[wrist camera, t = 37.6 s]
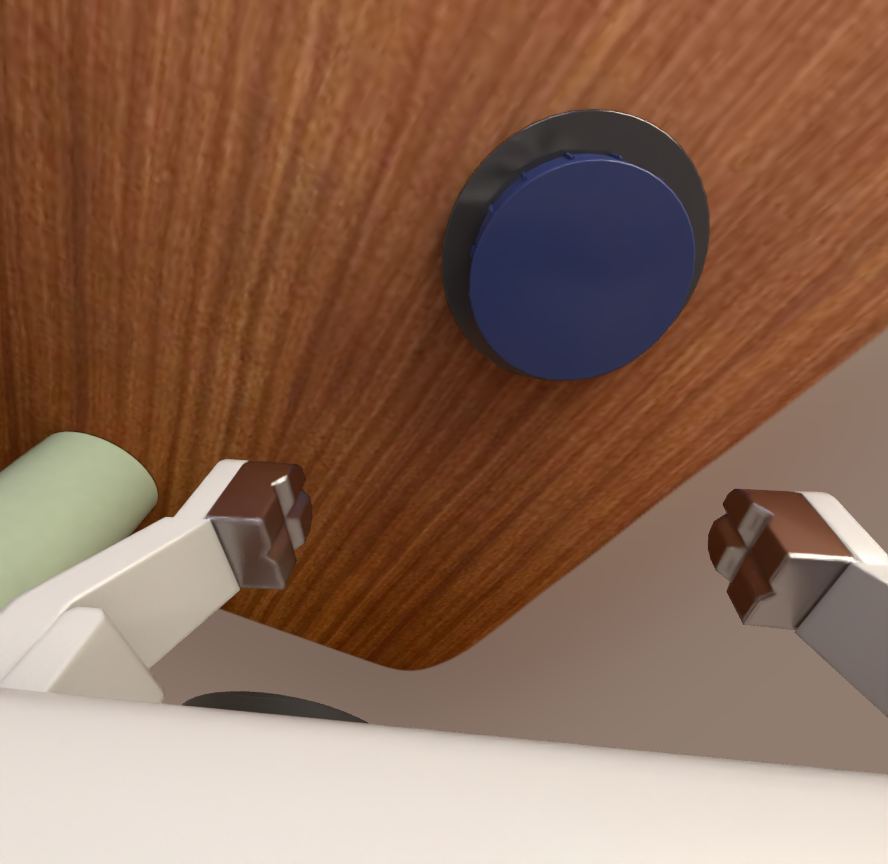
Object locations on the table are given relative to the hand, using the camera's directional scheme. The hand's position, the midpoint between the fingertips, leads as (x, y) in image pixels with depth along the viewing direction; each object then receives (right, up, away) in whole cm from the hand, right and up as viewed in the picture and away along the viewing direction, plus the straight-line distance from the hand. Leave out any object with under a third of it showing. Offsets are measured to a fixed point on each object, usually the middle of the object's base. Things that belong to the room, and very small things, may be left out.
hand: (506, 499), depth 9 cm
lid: (+3, +6, +6) cm, 9 cm away
